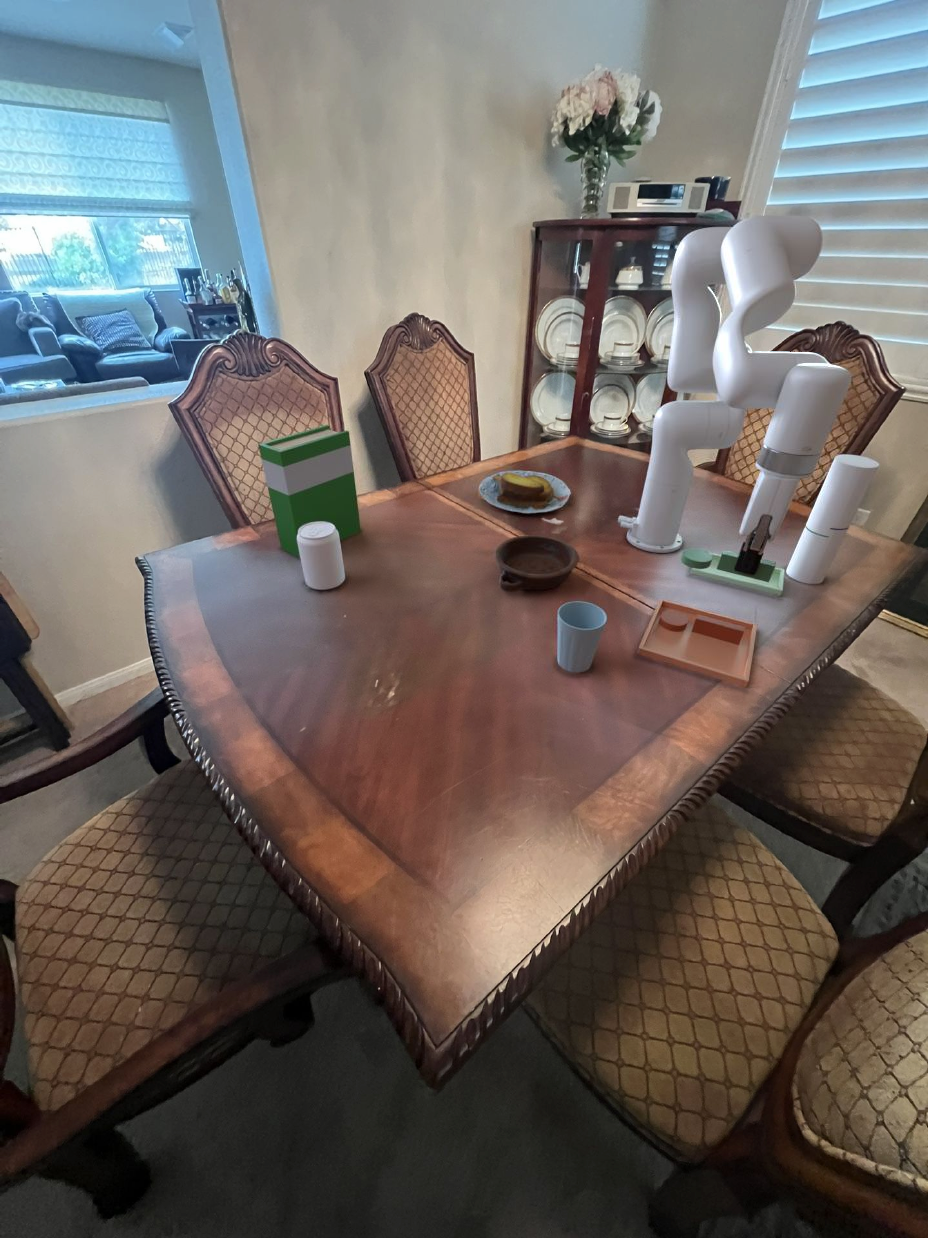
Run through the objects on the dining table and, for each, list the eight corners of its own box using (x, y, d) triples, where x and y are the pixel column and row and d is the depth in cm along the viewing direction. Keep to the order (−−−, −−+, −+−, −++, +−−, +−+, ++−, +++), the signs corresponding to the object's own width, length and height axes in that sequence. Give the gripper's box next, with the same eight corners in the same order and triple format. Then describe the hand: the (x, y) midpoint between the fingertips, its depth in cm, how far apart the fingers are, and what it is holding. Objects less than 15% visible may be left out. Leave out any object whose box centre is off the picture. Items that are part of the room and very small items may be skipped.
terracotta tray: (636, 656, 91) (638, 647, 90) (657, 606, 104) (660, 598, 102) (744, 690, 85) (748, 681, 83) (754, 632, 97) (757, 624, 96)
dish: (594, 566, 116) (598, 545, 113) (544, 612, 102) (546, 590, 99) (526, 542, 124) (528, 523, 121) (471, 582, 110) (471, 561, 107)
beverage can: (353, 576, 112) (346, 525, 104) (330, 595, 106) (320, 542, 99) (322, 568, 114) (313, 517, 107) (297, 586, 108) (286, 533, 101)
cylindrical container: (828, 585, 110) (886, 469, 95) (791, 581, 111) (843, 465, 96) (817, 568, 116) (870, 455, 101) (782, 565, 117) (829, 453, 102)
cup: (589, 685, 85) (599, 634, 79) (544, 671, 88) (551, 620, 82) (602, 658, 91) (612, 609, 85) (559, 645, 93) (566, 596, 87)
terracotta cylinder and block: (656, 626, 97) (660, 613, 95) (661, 613, 100) (665, 600, 99) (737, 650, 92) (743, 636, 90) (740, 635, 95) (746, 622, 93)
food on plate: (573, 485, 153) (576, 463, 149) (566, 522, 133) (569, 498, 129) (487, 476, 157) (488, 455, 153) (468, 511, 138) (468, 488, 134)
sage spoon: (678, 564, 89) (682, 548, 88) (683, 552, 93) (688, 536, 91) (767, 587, 84) (774, 571, 82) (770, 573, 87) (776, 557, 86)
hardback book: (340, 522, 132) (326, 424, 118) (360, 531, 129) (348, 431, 114) (281, 548, 121) (258, 444, 107) (301, 559, 117) (280, 452, 103)
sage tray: (689, 576, 113) (691, 568, 112) (696, 557, 119) (698, 549, 118) (779, 598, 106) (782, 590, 105) (781, 577, 113) (784, 569, 112)
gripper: (763, 439, 83) (727, 543, 94) (753, 472, 72) (713, 585, 83) (817, 447, 80) (773, 554, 91) (815, 483, 69) (765, 599, 80)
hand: (745, 568), depth 87 cm, fingers closed on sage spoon, 1 cm apart
